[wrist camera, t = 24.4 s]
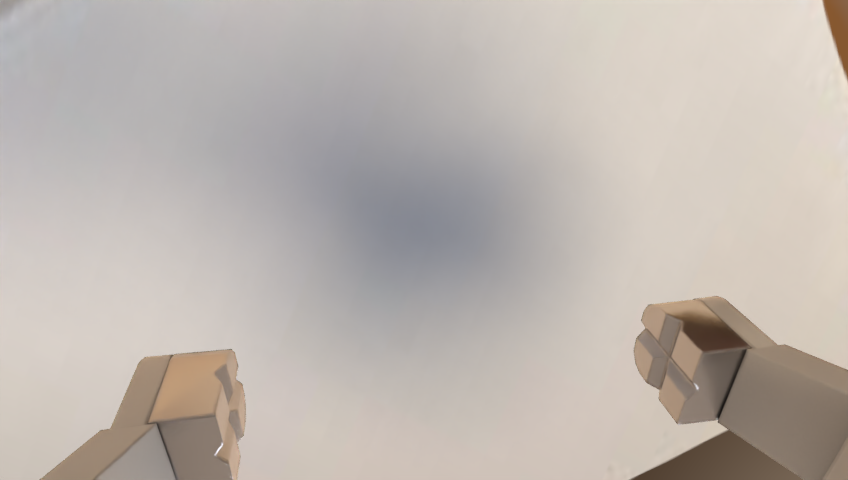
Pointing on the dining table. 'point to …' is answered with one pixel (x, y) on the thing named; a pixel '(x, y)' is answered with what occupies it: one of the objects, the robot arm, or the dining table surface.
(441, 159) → the dining table surface
